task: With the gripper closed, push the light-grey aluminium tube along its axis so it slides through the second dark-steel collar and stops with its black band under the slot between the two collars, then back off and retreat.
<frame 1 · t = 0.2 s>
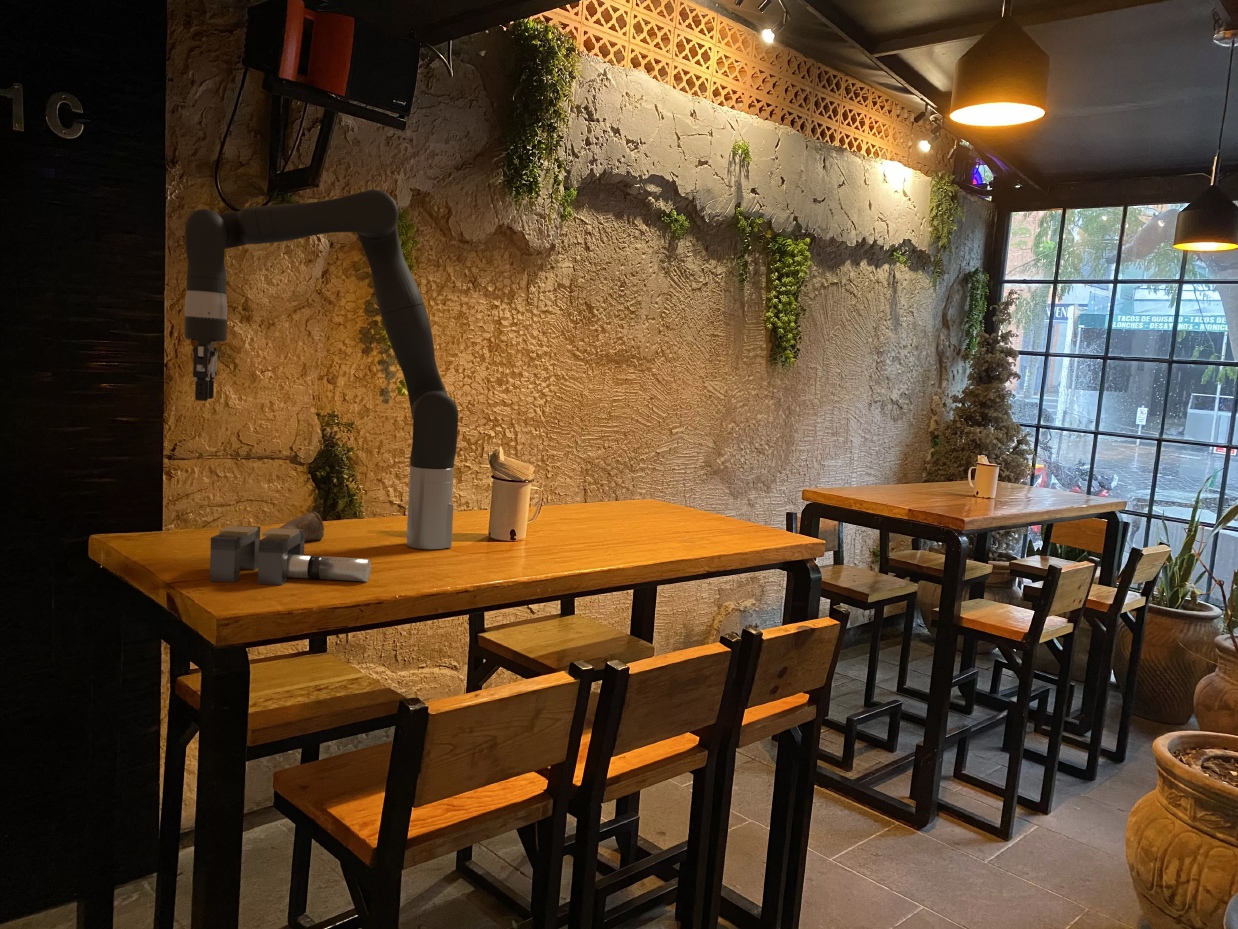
hand: (204, 399, 172), 29 cm above the table, fingers open, 8 cm apart
collars: (258, 575, 155), on the table
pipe: (300, 547, 181), on the table
tube: (316, 578, 156), on the table
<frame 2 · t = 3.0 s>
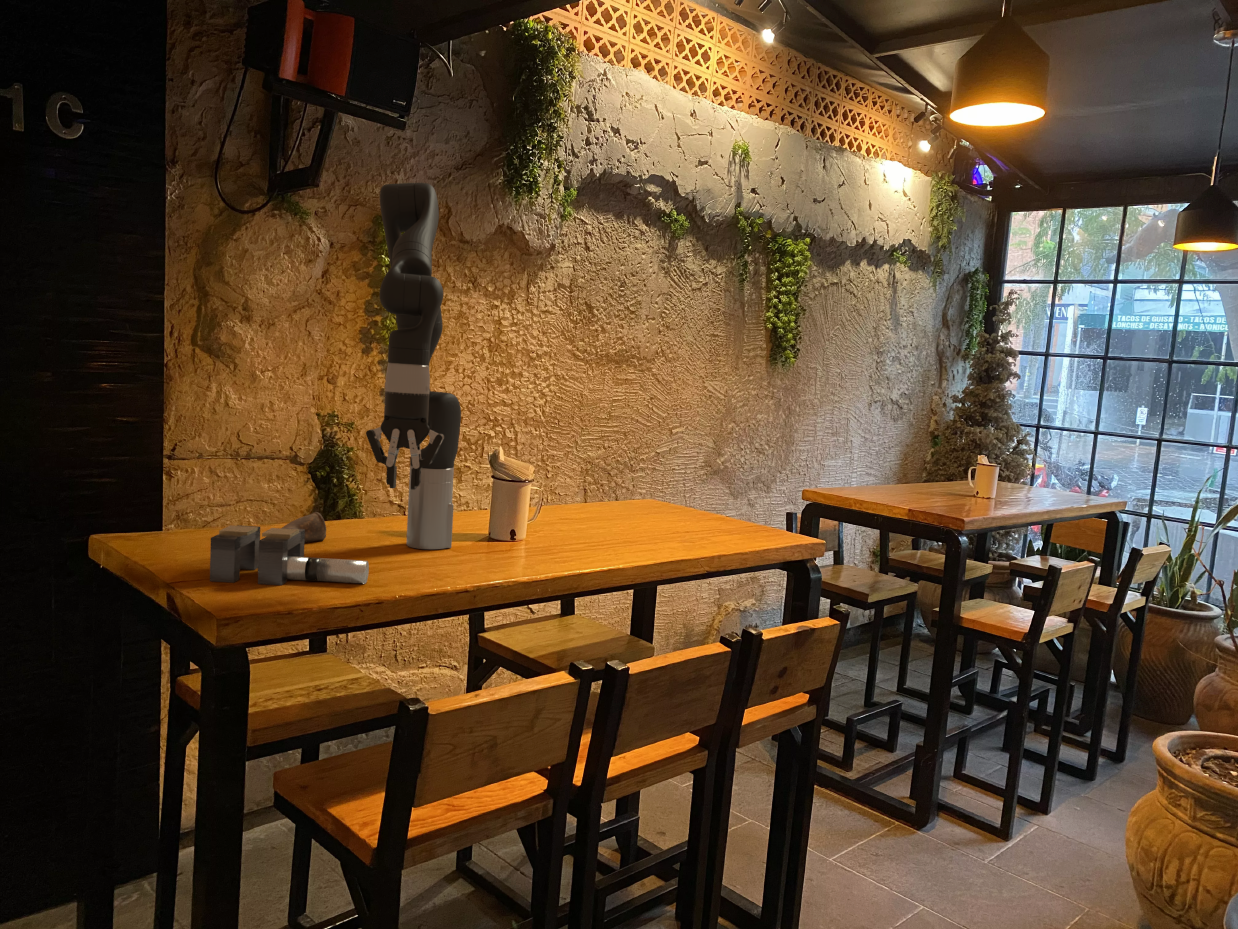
hand: (403, 487, 155), 17 cm above the table, fingers open, 3 cm apart
tube: (316, 575, 155), point 1 cm above the table, tilted 43°
everything else where it was.
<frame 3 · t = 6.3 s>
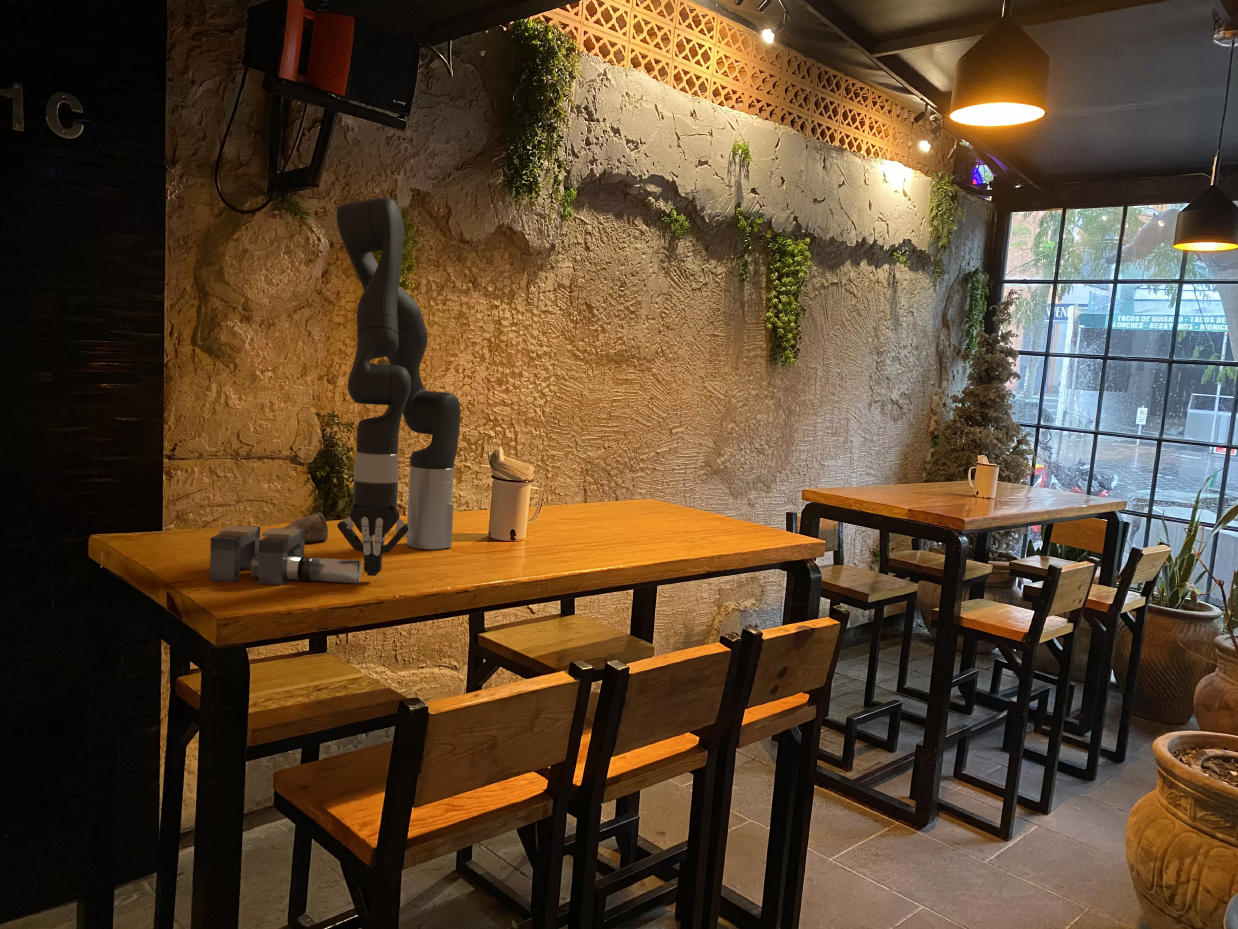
hand: (372, 574, 156), 1 cm above the table, fingers closed
tube: (309, 575, 155), point 1 cm above the table, tilted 43°, touching gripper
everything else where it was.
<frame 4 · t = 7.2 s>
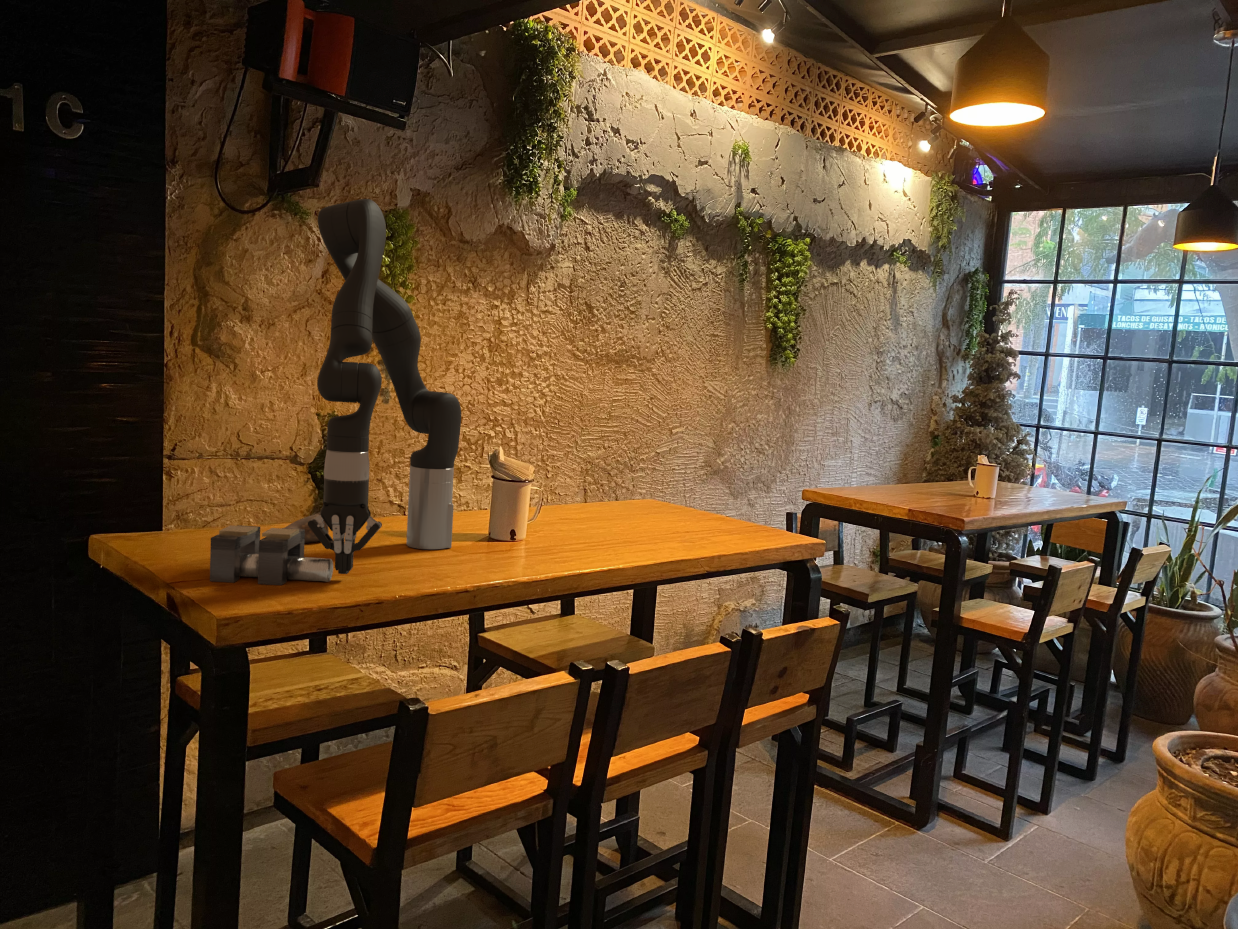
hand: (343, 573, 156), 1 cm above the table, fingers closed
tube: (280, 573, 155), point 1 cm above the table, tilted 44°, touching gripper
everything else where it was.
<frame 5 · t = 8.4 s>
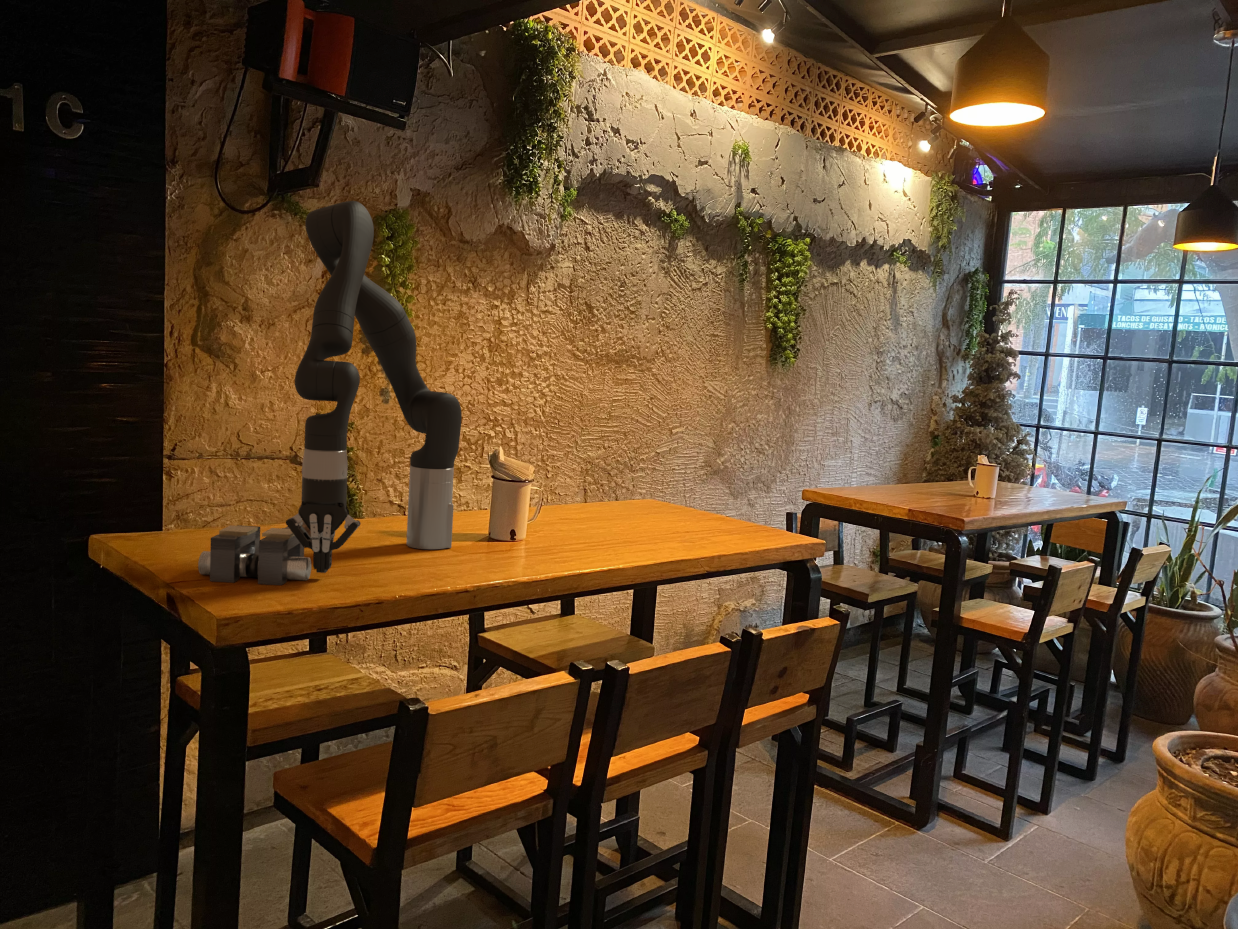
hand: (322, 571, 155), 1 cm above the table, fingers closed
tube: (258, 572, 155), point 1 cm above the table, tilted 43°, touching gripper
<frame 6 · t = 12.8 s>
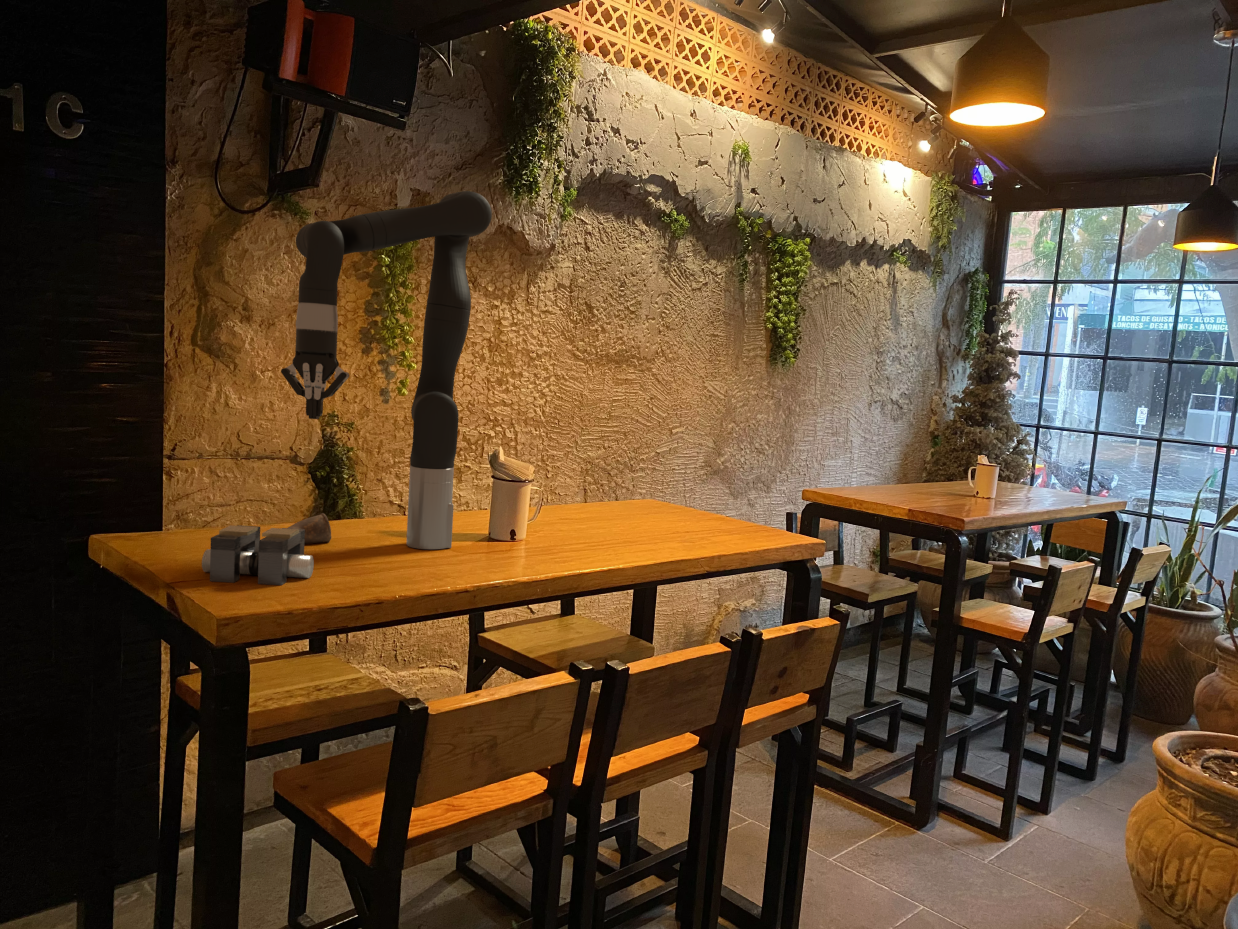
hand: (313, 418, 170), 27 cm above the table, fingers closed
tube: (257, 574, 155), on the table, tilted 7°
at the end: tube 0.1 cm off-centre on the collars, point 0.0 cm above the collars's base; tube moved 10.2 cm from its start; the gripper is holding nothing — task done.
